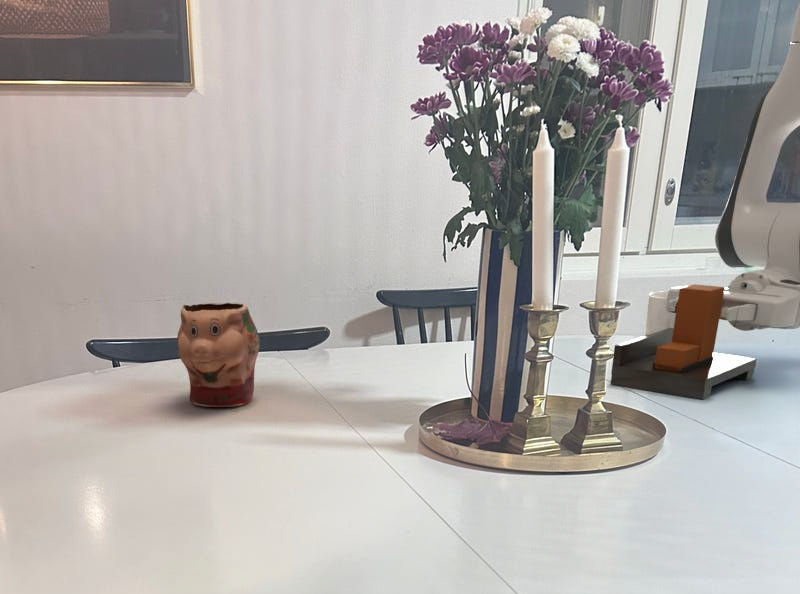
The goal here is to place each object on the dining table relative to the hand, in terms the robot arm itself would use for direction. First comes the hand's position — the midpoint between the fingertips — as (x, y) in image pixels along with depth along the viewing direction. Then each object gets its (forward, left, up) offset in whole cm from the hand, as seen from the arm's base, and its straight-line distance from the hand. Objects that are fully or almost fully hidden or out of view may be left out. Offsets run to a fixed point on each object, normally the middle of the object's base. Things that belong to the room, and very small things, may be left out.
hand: (697, 310), depth 141 cm
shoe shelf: (+1, -1, -11) cm, 11 cm away
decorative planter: (+49, +53, -11) cm, 73 cm away
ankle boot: (0, +2, -8) cm, 8 cm away
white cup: (+12, -17, -11) cm, 24 cm away
